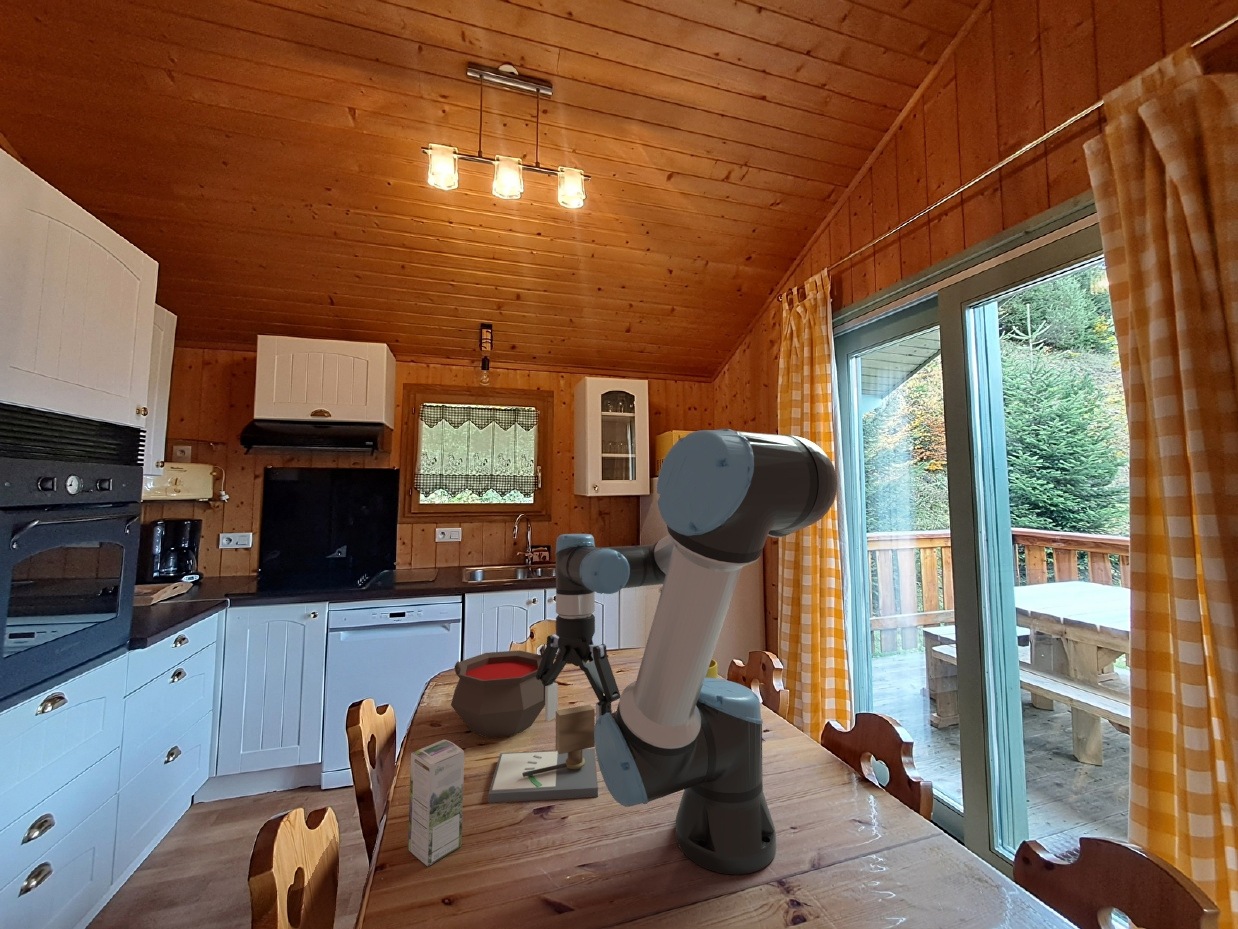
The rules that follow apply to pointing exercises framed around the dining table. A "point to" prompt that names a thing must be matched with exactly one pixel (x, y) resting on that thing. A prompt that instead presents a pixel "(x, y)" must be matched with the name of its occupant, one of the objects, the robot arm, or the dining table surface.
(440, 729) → the dining table surface
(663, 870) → the dining table surface
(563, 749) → the wooden pointer lever
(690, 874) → the dining table surface
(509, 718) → the brown soup pot
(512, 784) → the tuner board
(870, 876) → the dining table surface
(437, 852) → the syrup box
